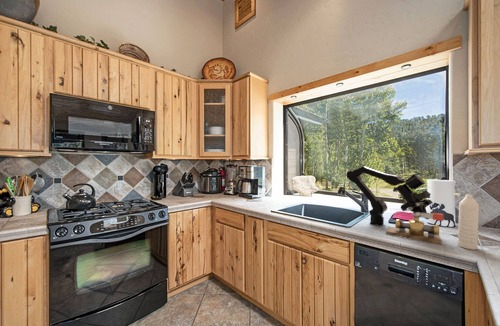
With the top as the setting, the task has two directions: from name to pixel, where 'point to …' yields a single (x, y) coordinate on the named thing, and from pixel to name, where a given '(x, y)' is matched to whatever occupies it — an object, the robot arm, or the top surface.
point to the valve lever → (428, 215)
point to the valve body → (417, 227)
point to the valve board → (423, 238)
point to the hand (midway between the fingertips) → (428, 219)
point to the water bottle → (468, 222)
